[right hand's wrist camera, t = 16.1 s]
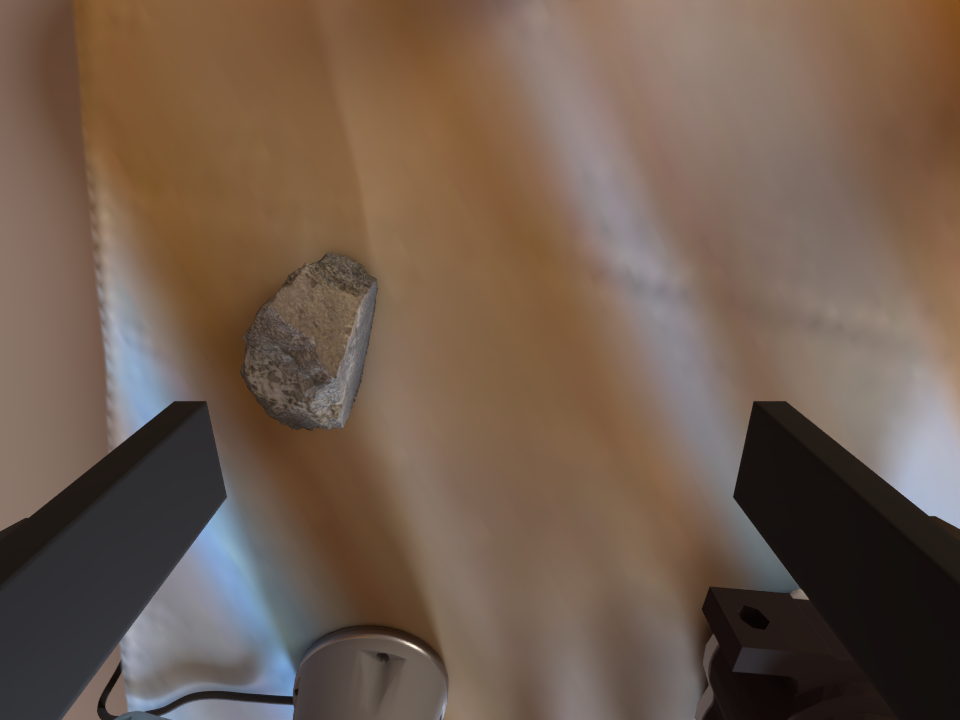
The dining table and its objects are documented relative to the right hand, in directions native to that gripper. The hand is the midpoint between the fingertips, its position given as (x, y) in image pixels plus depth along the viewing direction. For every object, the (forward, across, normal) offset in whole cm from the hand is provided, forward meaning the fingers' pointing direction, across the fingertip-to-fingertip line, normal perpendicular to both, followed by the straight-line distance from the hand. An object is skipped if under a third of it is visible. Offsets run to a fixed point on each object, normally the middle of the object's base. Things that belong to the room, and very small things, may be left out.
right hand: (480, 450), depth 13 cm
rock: (+26, +13, +6) cm, 30 cm away
